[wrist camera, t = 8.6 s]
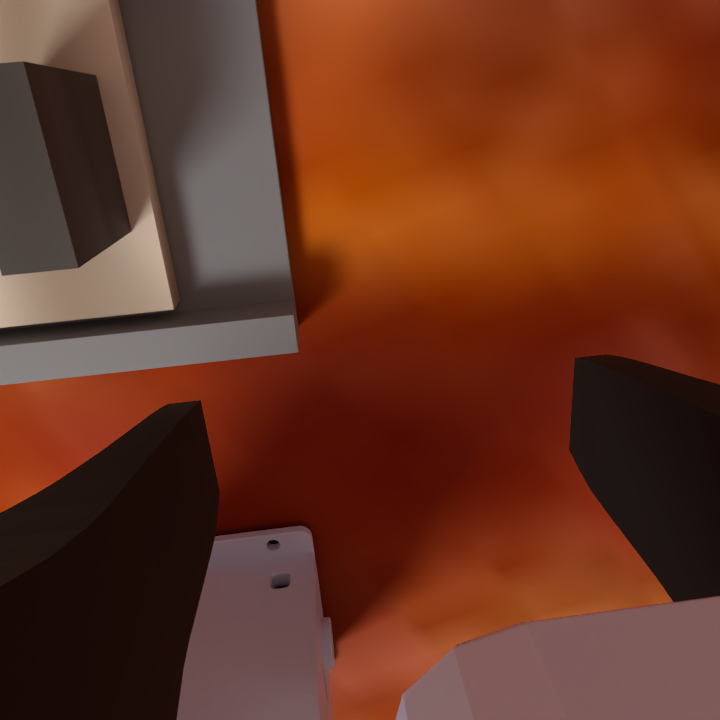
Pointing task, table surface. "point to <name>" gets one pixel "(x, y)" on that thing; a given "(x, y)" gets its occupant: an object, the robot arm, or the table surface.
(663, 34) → the table surface
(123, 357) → the channel
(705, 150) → the table surface
